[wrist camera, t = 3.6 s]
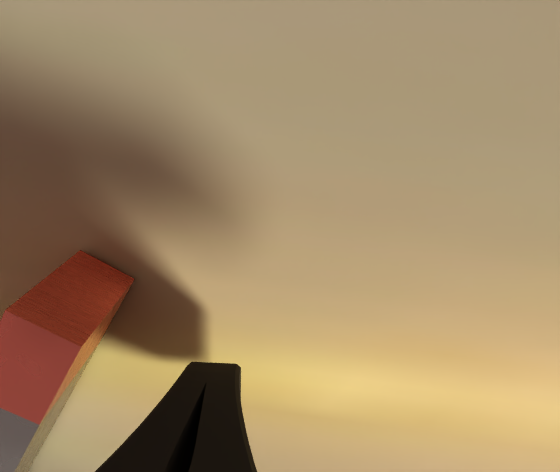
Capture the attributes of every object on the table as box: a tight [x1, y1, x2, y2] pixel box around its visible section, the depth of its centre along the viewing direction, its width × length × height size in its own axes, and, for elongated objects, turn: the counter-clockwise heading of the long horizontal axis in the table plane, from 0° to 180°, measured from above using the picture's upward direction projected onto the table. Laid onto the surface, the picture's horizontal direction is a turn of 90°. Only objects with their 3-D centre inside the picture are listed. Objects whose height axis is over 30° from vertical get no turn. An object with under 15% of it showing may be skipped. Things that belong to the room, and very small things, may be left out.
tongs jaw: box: [0, 250, 134, 472], centre depth 11 cm, size 12×2×3 cm, turn 148°
